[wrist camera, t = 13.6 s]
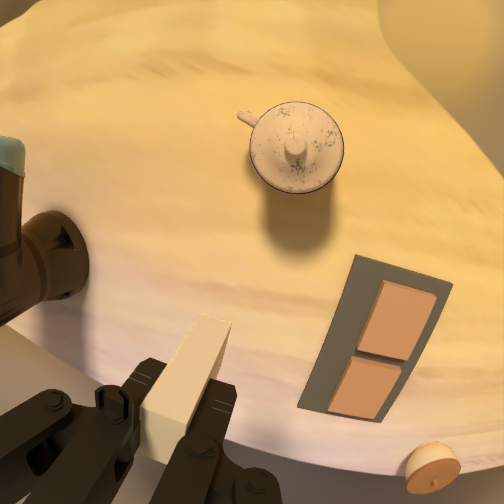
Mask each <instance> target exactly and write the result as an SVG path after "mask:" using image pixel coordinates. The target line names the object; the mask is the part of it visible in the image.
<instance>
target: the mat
mask: <svg viewBox="0 0 504 504" xmlns="http://www.w3.org/2000/svg"><path fill="white" fill-rule="evenodd" d="M382 280H386V281H390V282H393V283H397V284H400V285H404V286H407V287H411V288H414V289H418V290H421V291H425V292H428V293H432V294H434V295H435V296H436V298H437V299H436V301H435V304H434V306H433V308H432V311H431V313H430V315H429V317H428V320H427V322H426V324H425V326H424V328H423V330H422V332H421V335H420V337H419V339H418V341H417V343H416V345H415V347H414V349H413V351H412V353H411V355H410V357H409V359H408V360H402V359H397V358H393V357H388V356H383V355H379V354H374V353H370V352H365V351H361V350H357V345H356V344H357V342H358V339H359V337H360V335H361V333H362V330H363V328H364V325H365V323H366V321H367V318H368V316H369V313H370V311H371V308H372V306H373V303H374V301H375V298H376V296H377V293H378V290H379V288H380V285H381V282H382ZM452 286H453V284H452V283H450V282H447V281H444V280H440V279H437V278H434V277H431V276H427V275H424V274H421V273H417V272H414V271H411V270H407V269H404V268H401V267H397V266H394V265H391V264H387V263H384V262H380V261H377V260H373V259H370V258H367V257H363V256H360V255H356V254H355V257H354V260H353V263H352V266H351V269H350V272H349V275H348V278H347V281H346V284H345V287H344V290H343V293H342V295H341V298H340V301H339V304H338V306H337V309H336V312H335V315H334V317H333V320H332V323H331V325H330V328H329V330H328V333H327V336H326V338H325V341H324V343H323V346H322V348H321V351H320V353H319V356H318V358H317V360H316V363H315V365H314V368H313V370H312V372H311V375H310V377H309V379H308V382H307V384H306V386H305V389H304V391H303V393H302V395H301V398H300V400H299V402H298V404H297V407H299V408H303V409H308V410H312V411H317V412H322V413H327V414H332V415H337V416H342V417H348V418H353V419H359V420H366V421H372V422H379V423H381V422H382V420H383V419H384V417H385V416H386V414H387V413H388V411H389V409H390V408H391V406H392V405H393V403H394V401H395V400H396V398H397V396H398V395H399V393H400V391H401V390H402V388H403V386H404V385H405V383H406V381H407V379H408V378H409V376H410V374H411V372H412V371H413V369H414V367H415V365H416V363H417V361H418V360H419V358H420V356H421V354H422V352H423V350H424V348H425V346H426V344H427V342H428V340H429V338H430V336H431V334H432V332H433V330H434V328H435V325H436V323H437V321H438V319H439V317H440V315H441V312H442V310H443V308H444V306H445V303H446V301H447V299H448V296H449V294H450V291H451V289H452ZM351 356H354V357H358V358H363V359H367V360H372V361H377V362H381V363H386V364H391V365H396V366H400V369H401V371H402V372H401V374H400V375H399V377H398V379H397V381H396V383H395V384H394V386H393V388H392V390H391V391H390V393H389V395H388V396H387V398H386V400H385V401H384V403H383V405H382V406H381V408H380V410H379V411H378V413H377V414H376V416H375V417H374V419H369V418H363V417H357V416H351V415H346V414H340V413H335V412H330V411H327V405H328V403H329V401H330V399H331V397H332V395H333V393H334V391H335V389H336V387H337V385H338V383H339V381H340V379H341V377H342V375H343V373H344V370H345V368H346V366H347V364H348V362H349V360H350V358H351Z"/></svg>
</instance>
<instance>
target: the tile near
mask: <svg viewBox="0 0 504 504" xmlns="http://www.w3.org/2000/svg"><path fill="white" fill-rule="evenodd" d="M436 299H437V298H436V296H435V295H434V294H432V293H428V292H425V291H421V290H418V289H414V288H411V287H407V286H404V285H400V284H397V283H393V282H390V281H386V280H382V282H381V285H380V288H379V290H378V293H377V296H376V298H375V301H374V303H373V306H372V308H371V311H370V313H369V316H368V318H367V321H366V323H365V325H364V328H363V330H362V333H361V335H360V337H359V339H358V342H357V344H356V345H357V350H361V351H365V352H370V353H374V354H379V355H383V356H388V357H393V358H397V359H402V360H408V359H409V357H410V355H411V353H412V351H413V349H414V347H415V345H416V343H417V341H418V339H419V337H420V335H421V332H422V330H423V328H424V326H425V324H426V322H427V320H428V317H429V315H430V313H431V311H432V308H433V306H434V304H435V301H436Z"/></svg>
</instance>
